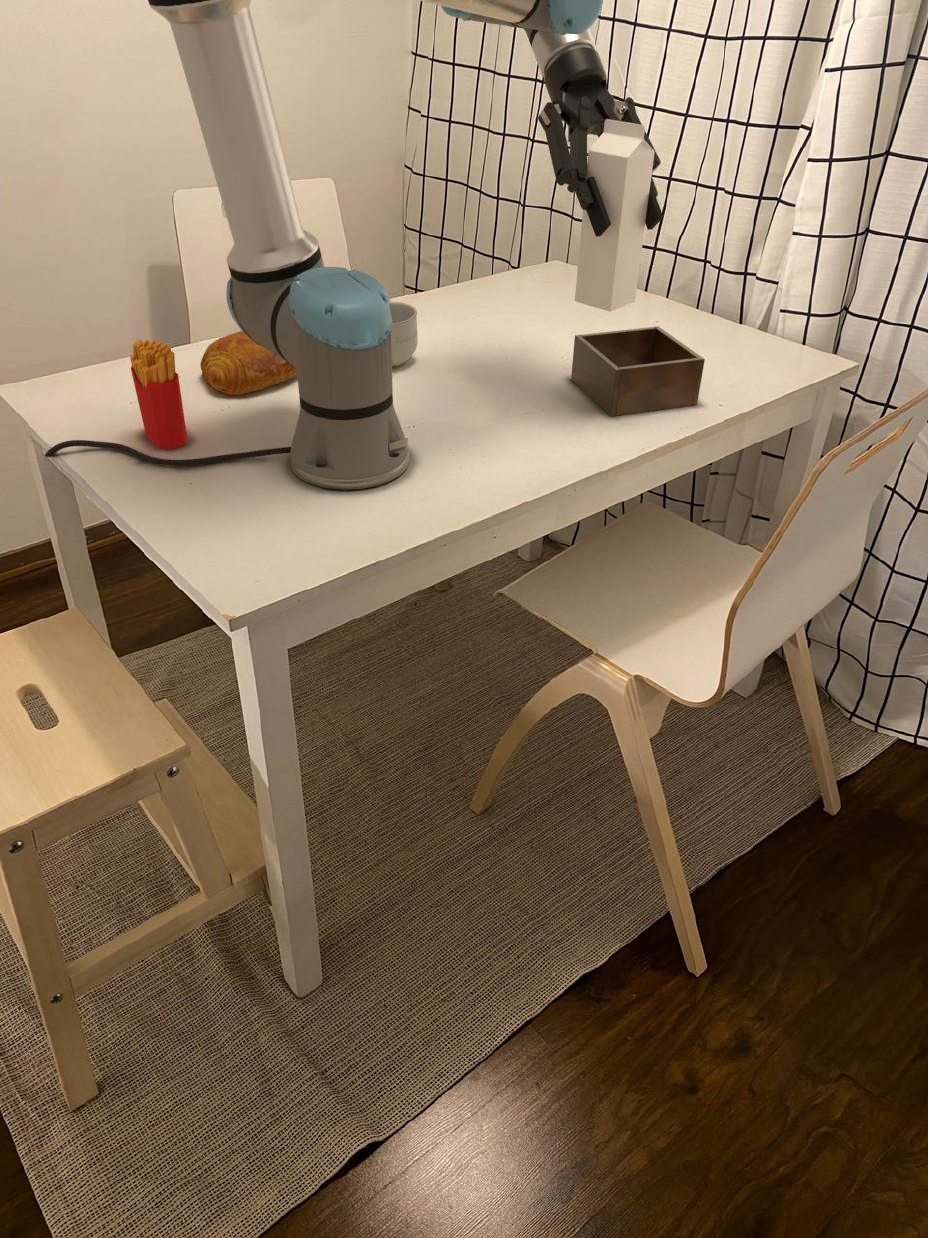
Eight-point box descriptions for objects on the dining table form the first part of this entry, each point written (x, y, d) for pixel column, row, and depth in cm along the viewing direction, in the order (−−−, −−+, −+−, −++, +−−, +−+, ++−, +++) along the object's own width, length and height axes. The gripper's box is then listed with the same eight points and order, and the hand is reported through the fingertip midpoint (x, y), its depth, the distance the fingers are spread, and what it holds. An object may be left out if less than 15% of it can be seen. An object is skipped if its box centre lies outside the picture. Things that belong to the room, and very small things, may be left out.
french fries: (138, 431, 132) (119, 338, 124) (167, 423, 134) (151, 331, 127) (167, 455, 126) (149, 360, 119) (197, 446, 129) (181, 352, 121)
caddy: (610, 416, 138) (616, 369, 134) (570, 379, 149) (574, 335, 145) (697, 404, 142) (704, 358, 138) (652, 369, 153) (658, 325, 148)
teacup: (408, 376, 149) (407, 325, 144) (341, 370, 150) (338, 319, 146) (429, 344, 160) (428, 296, 155) (366, 339, 161) (364, 291, 157)
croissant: (318, 390, 149) (321, 339, 145) (232, 405, 139) (232, 351, 135) (263, 362, 157) (265, 312, 153) (178, 374, 147) (177, 321, 143)
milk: (610, 312, 127) (631, 128, 114) (573, 301, 131) (589, 121, 117) (636, 301, 131) (659, 122, 118) (599, 291, 134) (618, 115, 121)
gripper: (619, 82, 131) (676, 234, 130) (490, 89, 123) (549, 252, 122) (648, 41, 125) (709, 201, 123) (514, 45, 116) (577, 217, 115)
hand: (629, 226), depth 122 cm, fingers closed on milk, 7 cm apart
